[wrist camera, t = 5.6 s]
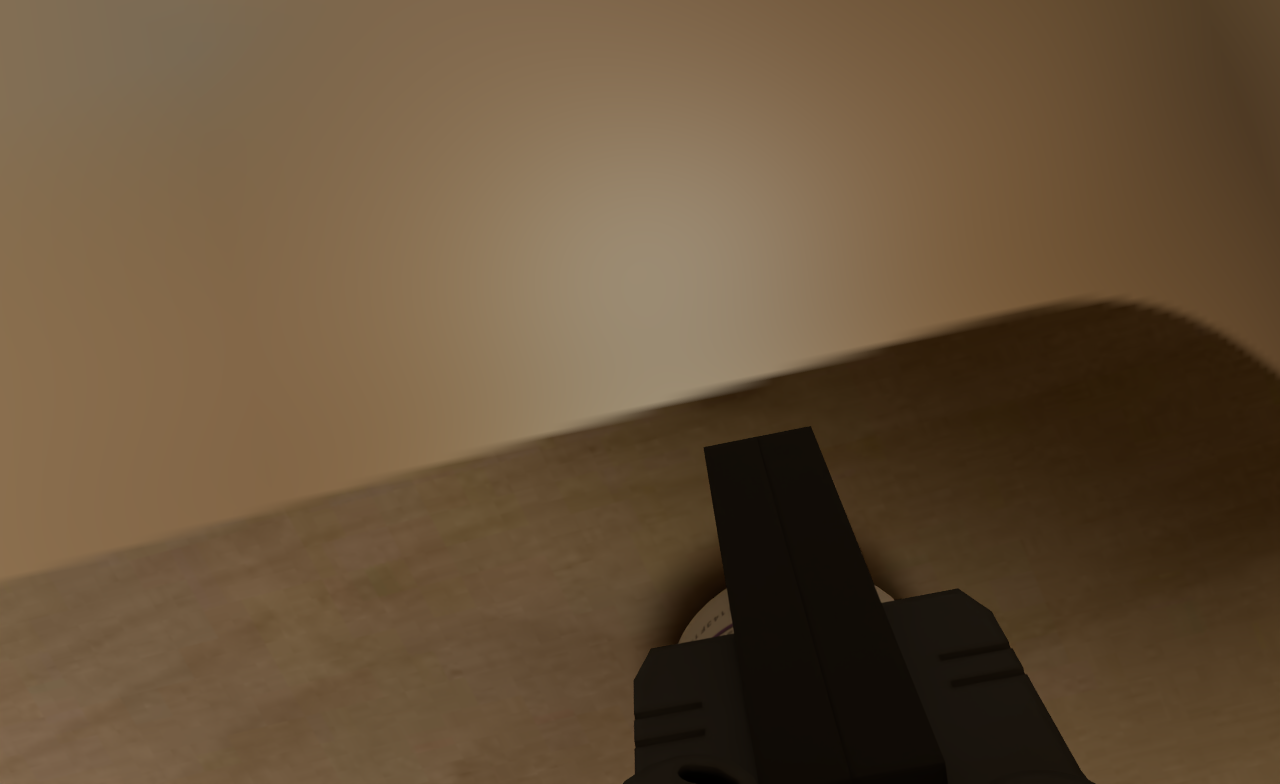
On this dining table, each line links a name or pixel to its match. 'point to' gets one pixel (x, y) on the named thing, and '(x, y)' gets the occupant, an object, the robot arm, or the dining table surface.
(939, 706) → the robot arm
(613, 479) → the dining table surface
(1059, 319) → the dining table surface
